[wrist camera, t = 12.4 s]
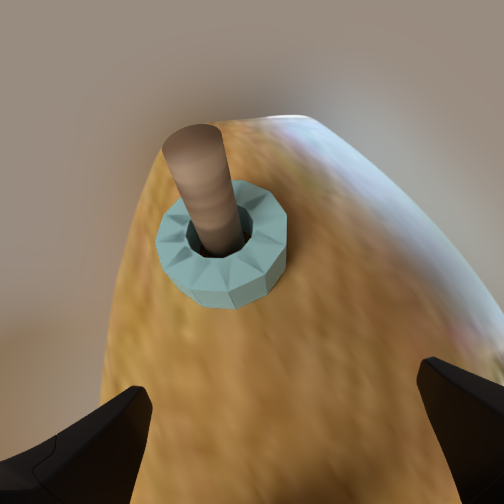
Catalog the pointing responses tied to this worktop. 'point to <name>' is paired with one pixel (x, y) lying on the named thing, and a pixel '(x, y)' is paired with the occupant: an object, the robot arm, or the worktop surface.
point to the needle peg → (206, 187)
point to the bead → (231, 267)
